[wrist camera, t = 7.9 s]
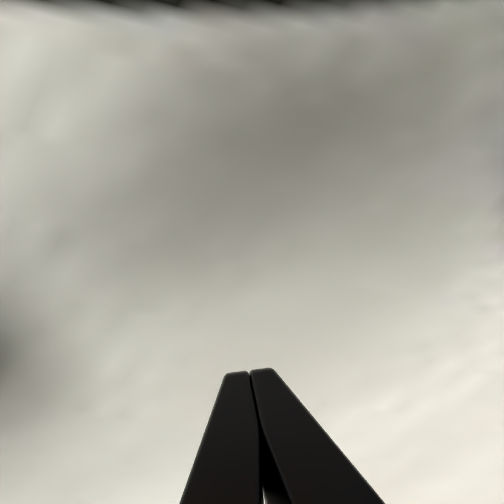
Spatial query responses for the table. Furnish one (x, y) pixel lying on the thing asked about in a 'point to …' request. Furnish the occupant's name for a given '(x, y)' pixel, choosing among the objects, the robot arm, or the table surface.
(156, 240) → the table surface
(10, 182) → the table surface
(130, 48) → the table surface
